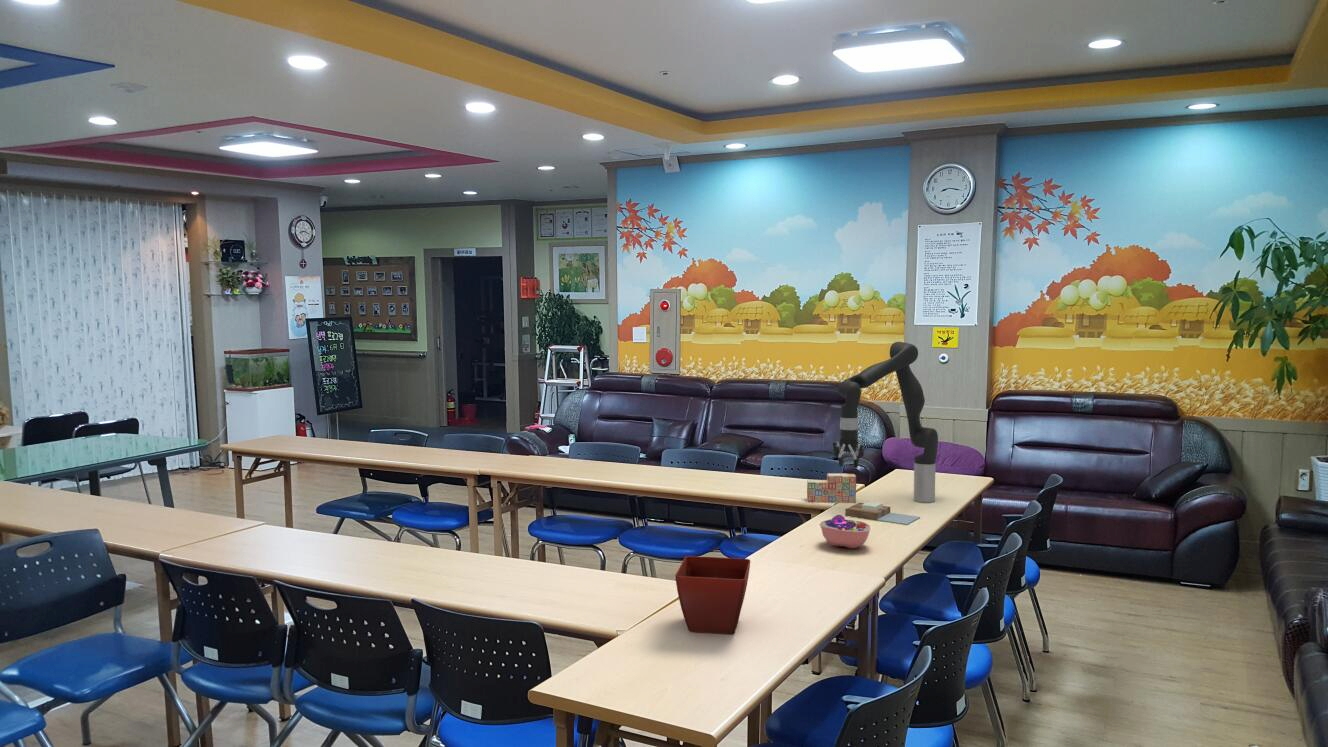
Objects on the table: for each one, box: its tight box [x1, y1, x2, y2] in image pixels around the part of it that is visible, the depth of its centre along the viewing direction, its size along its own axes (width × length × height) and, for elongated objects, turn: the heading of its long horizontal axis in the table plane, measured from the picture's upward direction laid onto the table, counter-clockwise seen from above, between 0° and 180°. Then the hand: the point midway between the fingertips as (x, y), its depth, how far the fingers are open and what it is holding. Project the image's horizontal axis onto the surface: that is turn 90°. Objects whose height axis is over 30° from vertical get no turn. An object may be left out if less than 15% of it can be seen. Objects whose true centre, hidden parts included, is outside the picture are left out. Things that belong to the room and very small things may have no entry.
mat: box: [876, 512, 921, 526], centre depth 369 cm, size 14×13×1 cm
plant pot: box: [675, 555, 751, 635], centre depth 249 cm, size 19×19×17 cm
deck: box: [844, 502, 891, 522], centre depth 377 cm, size 14×14×3 cm
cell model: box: [819, 514, 871, 549], centre depth 328 cm, size 17×20×11 cm
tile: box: [862, 501, 884, 511], centre depth 376 cm, size 8×6×2 cm
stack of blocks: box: [806, 472, 857, 504], centre depth 403 cm, size 21×6×12 cm, turn 85°
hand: (848, 466), depth 381 cm, fingers open, 5 cm apart
